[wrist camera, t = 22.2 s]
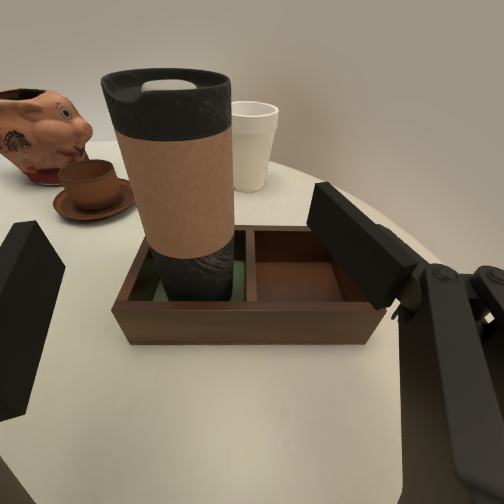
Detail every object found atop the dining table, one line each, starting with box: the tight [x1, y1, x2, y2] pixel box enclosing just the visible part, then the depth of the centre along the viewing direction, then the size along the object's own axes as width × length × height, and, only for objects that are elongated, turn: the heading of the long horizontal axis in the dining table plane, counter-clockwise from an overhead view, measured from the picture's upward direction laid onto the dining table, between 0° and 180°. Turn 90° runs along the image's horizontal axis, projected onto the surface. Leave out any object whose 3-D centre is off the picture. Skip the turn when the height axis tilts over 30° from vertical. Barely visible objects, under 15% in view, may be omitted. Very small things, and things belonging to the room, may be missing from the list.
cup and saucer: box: [53, 160, 135, 220], centre depth 40 cm, size 12×12×6 cm
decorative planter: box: [0, 89, 93, 185], centre depth 44 cm, size 20×12×14 cm, turn 97°
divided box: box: [111, 225, 387, 345], centre depth 28 cm, size 12×23×6 cm, turn 91°
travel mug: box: [101, 68, 234, 301], centre depth 22 cm, size 8×8×20 cm
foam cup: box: [231, 101, 279, 192], centre depth 45 cm, size 10×9×13 cm
